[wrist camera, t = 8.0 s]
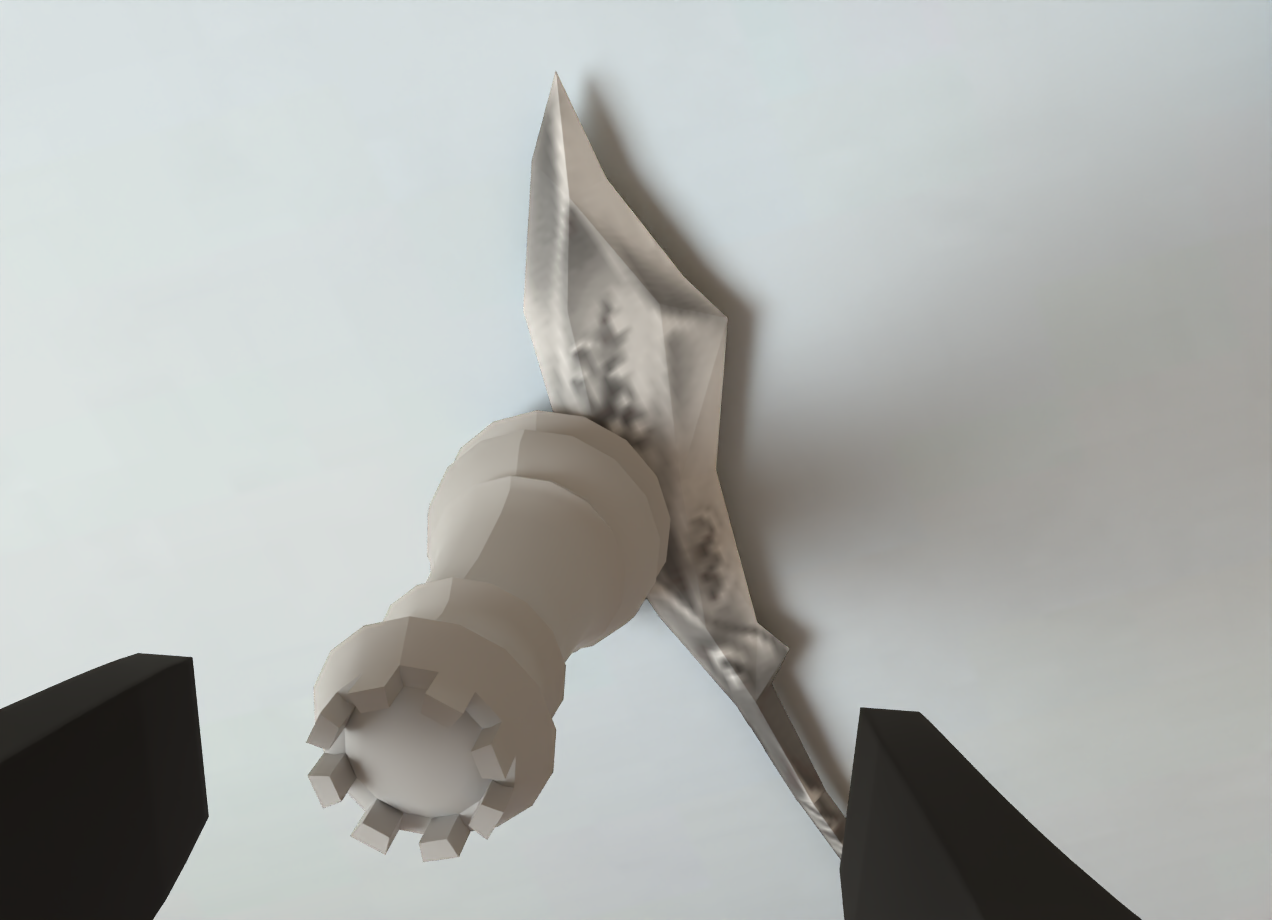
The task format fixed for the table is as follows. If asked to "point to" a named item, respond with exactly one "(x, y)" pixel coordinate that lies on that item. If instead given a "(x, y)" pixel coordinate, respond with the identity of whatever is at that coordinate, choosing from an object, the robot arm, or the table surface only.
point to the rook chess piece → (488, 632)
